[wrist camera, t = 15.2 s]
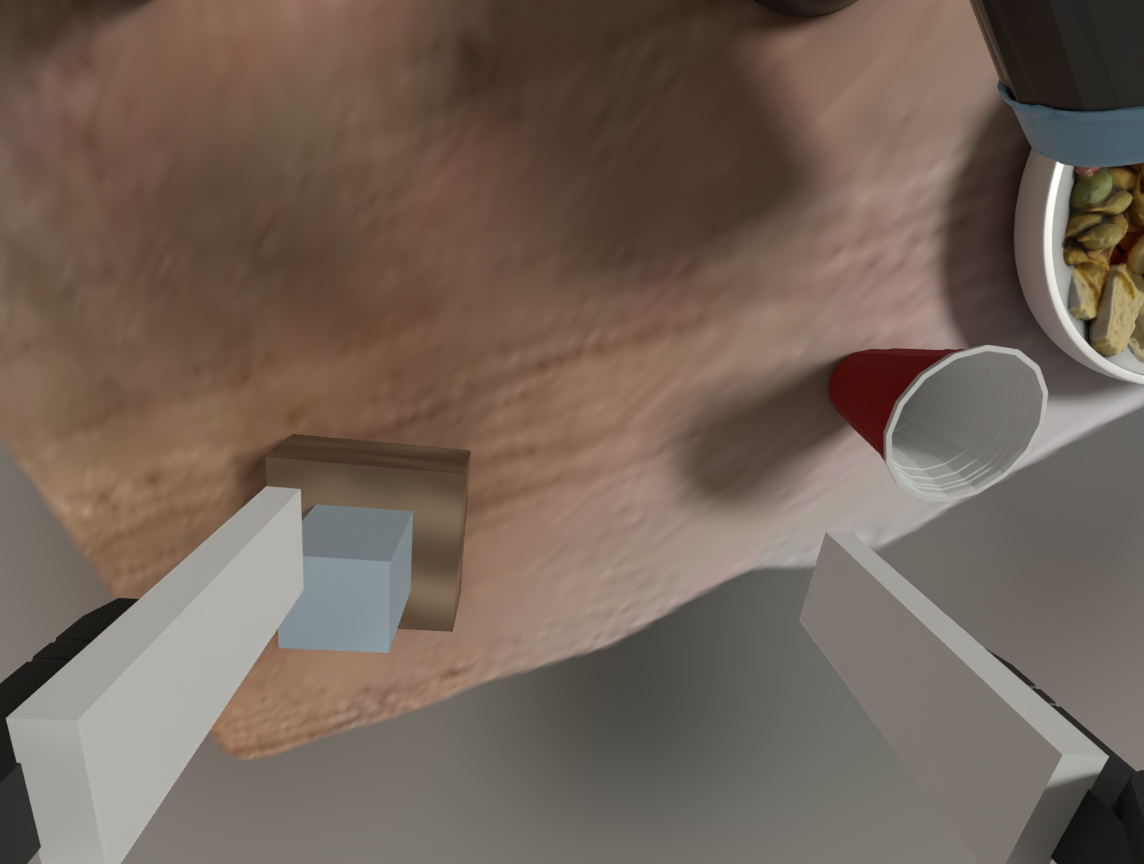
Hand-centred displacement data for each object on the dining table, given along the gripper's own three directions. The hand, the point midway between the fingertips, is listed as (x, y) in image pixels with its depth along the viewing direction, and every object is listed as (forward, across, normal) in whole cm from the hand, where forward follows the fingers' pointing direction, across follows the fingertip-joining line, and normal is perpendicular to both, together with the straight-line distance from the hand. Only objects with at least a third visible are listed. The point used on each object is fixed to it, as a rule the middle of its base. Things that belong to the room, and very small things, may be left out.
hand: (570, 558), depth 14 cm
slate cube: (+26, -12, -16) cm, 33 cm away
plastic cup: (+31, +27, 0) cm, 41 cm away
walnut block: (+31, -12, -16) cm, 37 cm away
